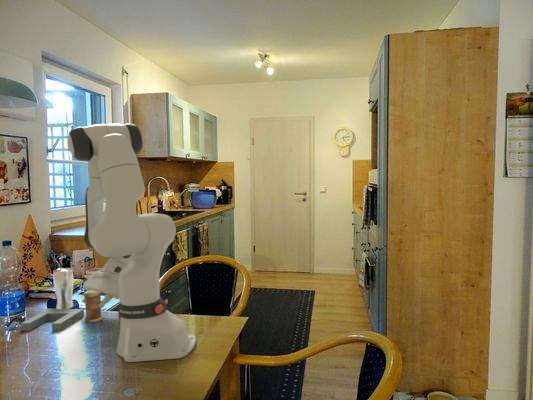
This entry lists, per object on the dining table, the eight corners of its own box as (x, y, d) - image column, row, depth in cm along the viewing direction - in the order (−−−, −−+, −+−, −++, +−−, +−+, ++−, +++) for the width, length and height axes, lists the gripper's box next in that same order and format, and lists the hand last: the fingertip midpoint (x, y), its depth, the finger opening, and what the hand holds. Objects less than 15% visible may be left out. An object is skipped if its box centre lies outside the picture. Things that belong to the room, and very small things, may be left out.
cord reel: (105, 316, 142) (104, 289, 141) (97, 322, 136) (96, 294, 135) (90, 316, 142) (89, 289, 141) (81, 322, 136) (80, 294, 136)
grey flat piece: (84, 315, 143) (83, 309, 143) (60, 330, 130) (60, 323, 129) (48, 315, 145) (47, 309, 145) (21, 330, 131) (20, 323, 131)
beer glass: (62, 304, 157) (60, 267, 157) (78, 304, 157) (76, 267, 156) (51, 310, 151) (48, 272, 150) (67, 310, 150) (65, 272, 149)
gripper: (93, 264, 150) (69, 295, 142) (126, 270, 138) (102, 305, 130) (104, 273, 154) (82, 304, 146) (137, 279, 142) (114, 314, 134)
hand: (91, 304), depth 138 cm, fingers open, 8 cm apart
